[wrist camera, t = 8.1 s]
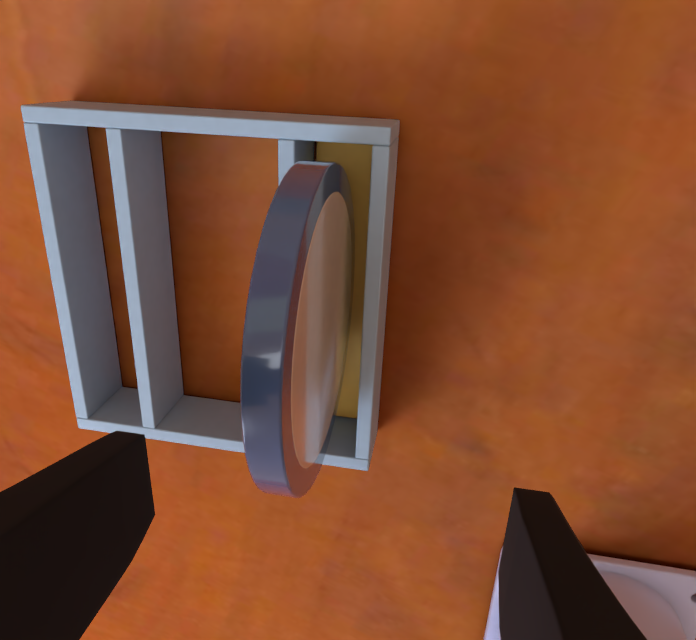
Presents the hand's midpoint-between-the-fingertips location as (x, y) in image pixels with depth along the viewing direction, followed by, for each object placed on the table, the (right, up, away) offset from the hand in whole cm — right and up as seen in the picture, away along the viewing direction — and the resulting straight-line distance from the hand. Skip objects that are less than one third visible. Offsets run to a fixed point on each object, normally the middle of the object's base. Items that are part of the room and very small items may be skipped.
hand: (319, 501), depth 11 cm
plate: (0, +5, +9) cm, 10 cm away
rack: (-4, +5, +10) cm, 12 cm away
